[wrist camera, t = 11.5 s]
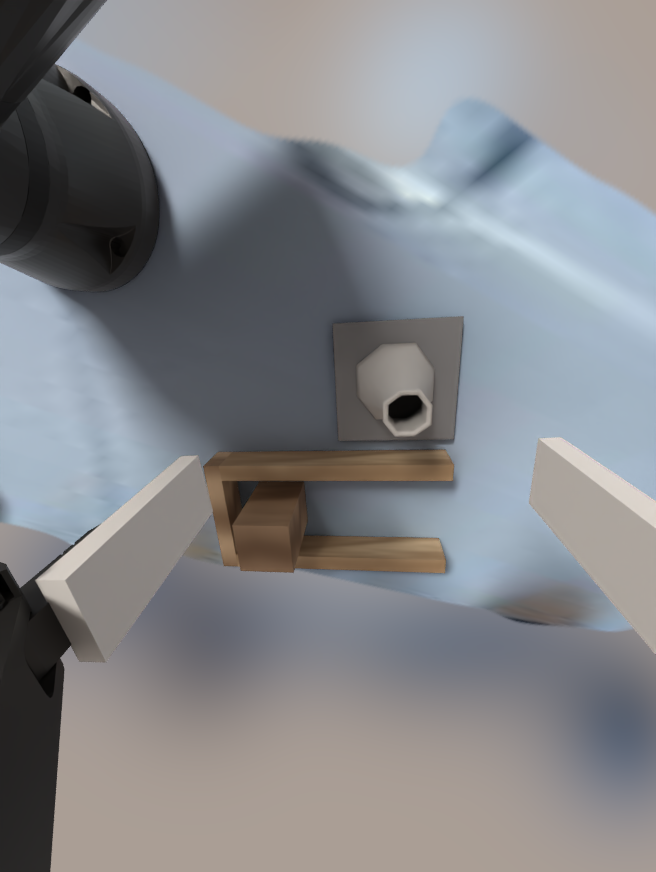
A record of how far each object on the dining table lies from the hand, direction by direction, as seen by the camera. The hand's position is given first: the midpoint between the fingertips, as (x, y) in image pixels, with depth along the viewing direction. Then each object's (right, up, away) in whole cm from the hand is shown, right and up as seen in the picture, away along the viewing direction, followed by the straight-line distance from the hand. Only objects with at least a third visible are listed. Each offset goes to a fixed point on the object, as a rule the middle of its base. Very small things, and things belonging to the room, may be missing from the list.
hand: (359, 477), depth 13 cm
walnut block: (-6, -6, +24) cm, 25 cm away
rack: (0, -6, +23) cm, 24 cm away
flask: (+5, +7, +17) cm, 19 cm away
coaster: (+5, +7, +18) cm, 20 cm away
